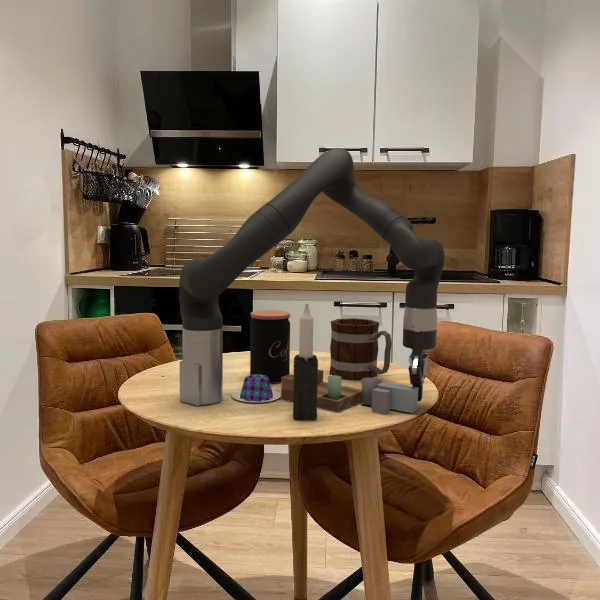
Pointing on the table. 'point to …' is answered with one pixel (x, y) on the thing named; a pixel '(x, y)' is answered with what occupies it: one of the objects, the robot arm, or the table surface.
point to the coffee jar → (270, 344)
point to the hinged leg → (391, 394)
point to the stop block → (381, 400)
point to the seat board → (324, 394)
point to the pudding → (256, 389)
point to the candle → (305, 372)
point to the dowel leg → (334, 387)
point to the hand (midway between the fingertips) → (416, 400)
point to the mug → (357, 349)
